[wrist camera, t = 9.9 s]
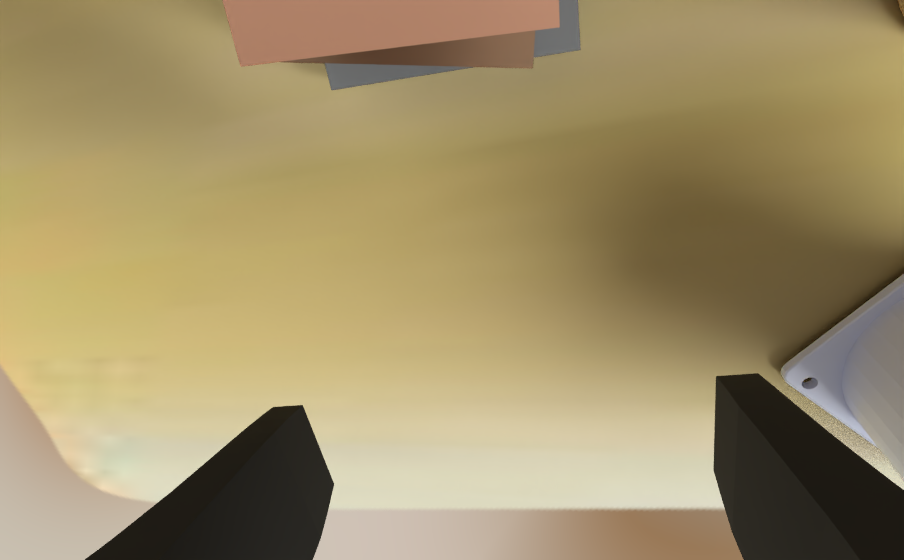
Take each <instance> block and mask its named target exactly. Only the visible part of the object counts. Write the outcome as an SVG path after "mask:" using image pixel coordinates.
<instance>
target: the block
mask: <svg viewBox="0 0 904 560" xmlns="http://www.w3.org/2000/svg"><path fill="white" fill-rule="evenodd" d="M223 4H224V7H225V11H226V15H227V18H228V22H229V26H230V29H231V33H232V37H233V40H234V44H235V48H236V51H237V55H238V59H239V62H240V66H241V67H242V66H250V65H258V64H266V63H274V62H282V61H290V60H299V59H307V58H315V57H323V56H331V55H339V54H347V53H355V52H364V51H372V50H380V49H388V48H396V47H404V46H412V45H420V44H429V43H437V42H445V41H453V40H461V39H469V38H477V37H485V36H494V35H502V34H510V33H518V32H526V31H534V30H542V29H550V28H559V27H560V19H559V0H223Z"/></svg>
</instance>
